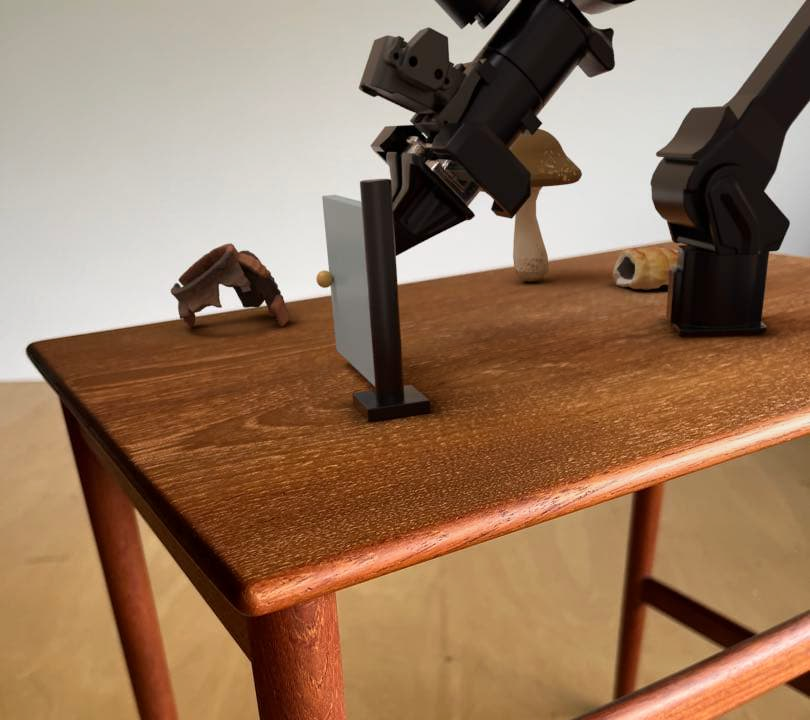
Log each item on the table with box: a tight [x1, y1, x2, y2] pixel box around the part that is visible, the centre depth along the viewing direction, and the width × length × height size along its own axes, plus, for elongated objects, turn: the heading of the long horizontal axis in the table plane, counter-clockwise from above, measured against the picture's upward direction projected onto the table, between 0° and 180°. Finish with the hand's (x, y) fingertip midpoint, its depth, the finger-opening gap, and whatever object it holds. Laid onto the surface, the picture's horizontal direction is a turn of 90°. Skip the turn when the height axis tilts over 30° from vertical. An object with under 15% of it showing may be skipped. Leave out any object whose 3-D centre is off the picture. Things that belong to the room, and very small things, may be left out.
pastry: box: [612, 245, 678, 291], centre depth 88 cm, size 9×7×4 cm
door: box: [315, 194, 375, 387], centre depth 59 cm, size 12×2×11 cm, turn 17°
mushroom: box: [510, 128, 583, 283], centre depth 92 cm, size 9×11×15 cm
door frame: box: [351, 178, 431, 422], centre depth 53 cm, size 4×4×14 cm
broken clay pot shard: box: [170, 243, 290, 328], centre depth 83 cm, size 12×10×8 cm
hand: (367, 262), depth 63 cm, fingers closed
